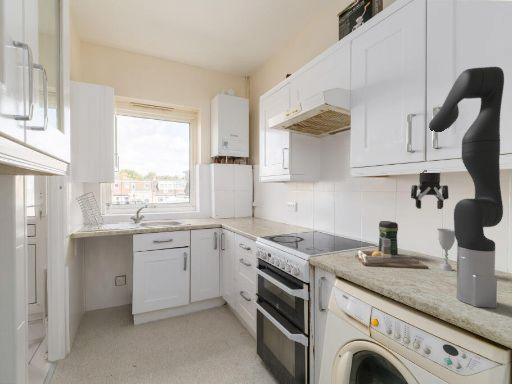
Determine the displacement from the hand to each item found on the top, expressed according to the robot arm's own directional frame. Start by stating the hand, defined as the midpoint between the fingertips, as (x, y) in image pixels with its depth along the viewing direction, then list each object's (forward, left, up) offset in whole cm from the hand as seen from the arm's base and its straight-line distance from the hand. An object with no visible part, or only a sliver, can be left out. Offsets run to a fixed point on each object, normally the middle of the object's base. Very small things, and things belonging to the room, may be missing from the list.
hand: (429, 208), depth 110 cm
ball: (+12, +18, -25) cm, 33 cm away
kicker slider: (+12, +14, -26) cm, 32 cm away
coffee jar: (+29, +6, -28) cm, 41 cm away
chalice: (+5, -10, -28) cm, 30 cm away
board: (+12, +12, -28) cm, 32 cm away
